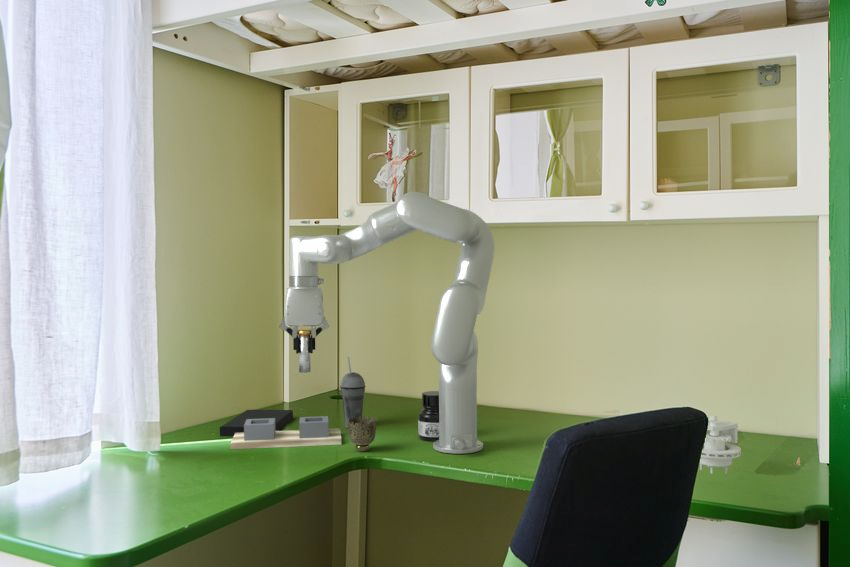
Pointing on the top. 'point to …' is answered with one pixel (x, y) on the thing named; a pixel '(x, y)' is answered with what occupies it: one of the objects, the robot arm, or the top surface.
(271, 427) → the dock socket
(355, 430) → the cup
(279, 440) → the dock board
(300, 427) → the lock mount
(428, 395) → the ink bottle
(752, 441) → the top surface
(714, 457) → the mechanical part
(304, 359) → the pin
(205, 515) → the top surface
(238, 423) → the external hard drive
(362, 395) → the beverage cup
